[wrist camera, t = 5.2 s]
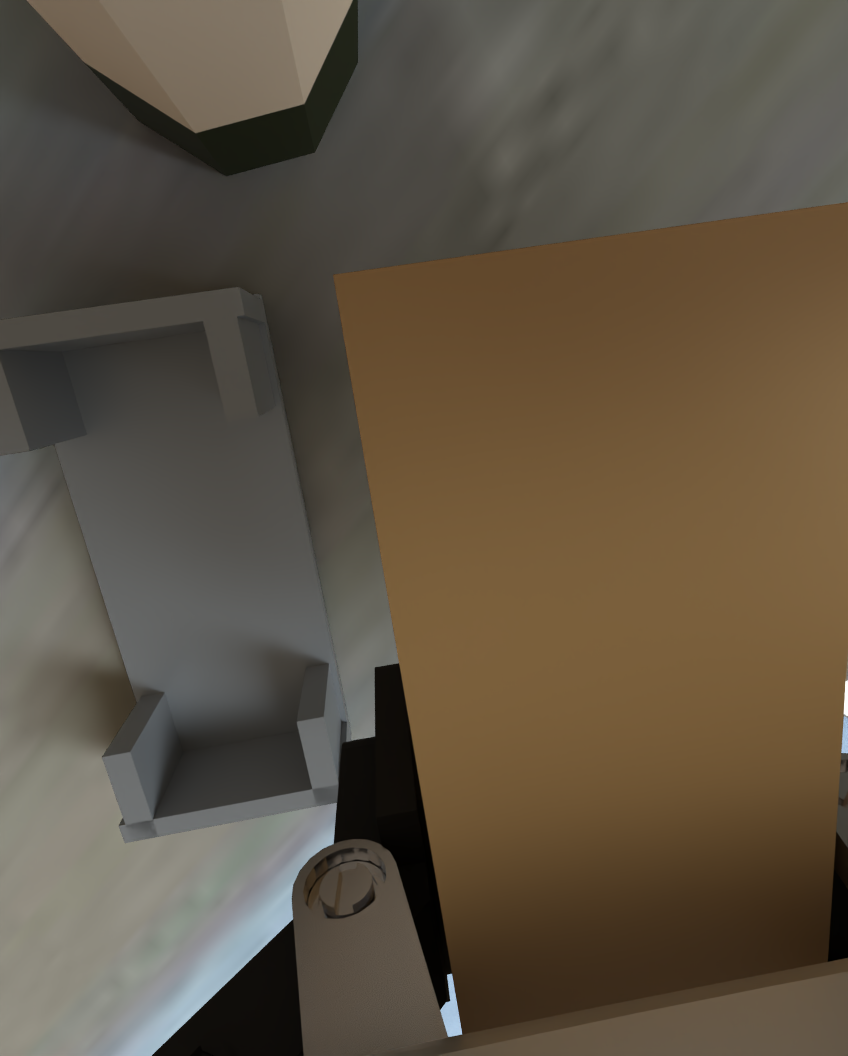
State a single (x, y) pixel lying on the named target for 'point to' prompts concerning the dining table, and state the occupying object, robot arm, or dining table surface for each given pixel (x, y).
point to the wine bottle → (219, 69)
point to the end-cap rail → (189, 550)
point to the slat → (618, 597)
